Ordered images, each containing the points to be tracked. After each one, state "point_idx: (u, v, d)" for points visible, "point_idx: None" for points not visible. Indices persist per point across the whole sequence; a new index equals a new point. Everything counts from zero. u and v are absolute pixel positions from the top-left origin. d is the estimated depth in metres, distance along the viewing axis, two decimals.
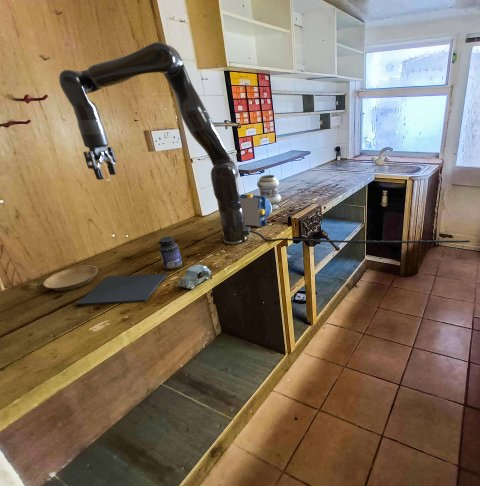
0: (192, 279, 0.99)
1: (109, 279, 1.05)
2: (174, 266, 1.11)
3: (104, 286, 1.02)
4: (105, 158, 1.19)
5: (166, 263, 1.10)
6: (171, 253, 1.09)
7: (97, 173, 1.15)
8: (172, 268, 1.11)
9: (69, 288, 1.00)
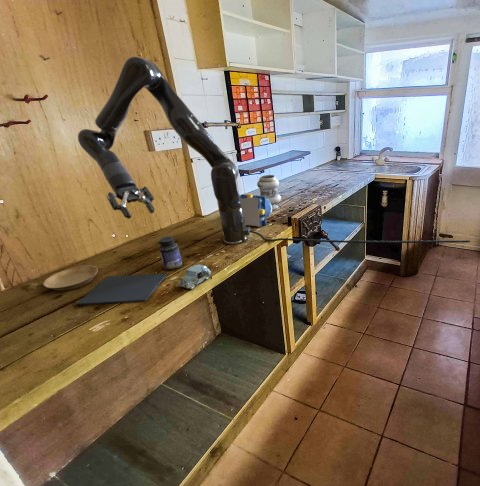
0: (192, 279, 0.99)
1: (109, 279, 1.05)
2: (174, 266, 1.11)
3: (104, 286, 1.02)
4: (134, 197, 1.15)
5: (166, 263, 1.10)
6: (171, 253, 1.09)
7: (123, 212, 1.11)
8: (172, 268, 1.11)
9: (69, 288, 1.00)
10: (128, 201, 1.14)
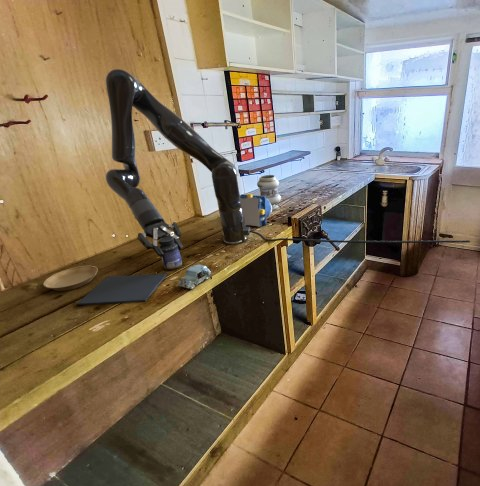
0: (192, 279, 0.99)
1: (109, 279, 1.05)
2: (174, 266, 1.11)
3: (104, 286, 1.02)
4: (162, 233, 1.11)
5: (166, 263, 1.10)
6: (171, 253, 1.09)
7: (156, 251, 1.07)
8: (172, 268, 1.11)
9: (69, 288, 1.00)
10: (157, 238, 1.10)
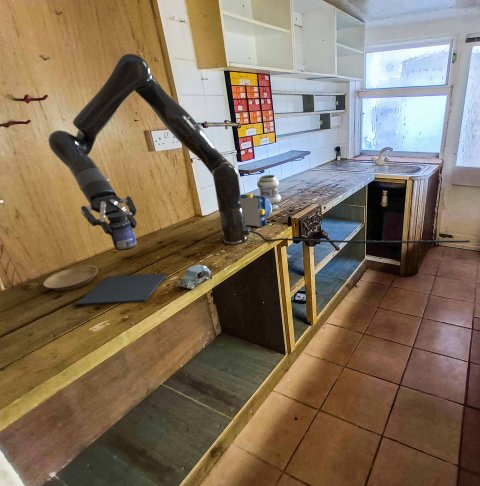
0: (192, 279, 0.99)
1: (109, 279, 1.05)
2: (126, 246, 0.96)
3: (104, 286, 1.02)
4: (112, 208, 0.96)
5: (116, 243, 0.95)
6: (122, 230, 0.94)
7: (103, 227, 0.92)
8: (123, 248, 0.96)
9: (69, 288, 1.00)
10: (106, 213, 0.95)
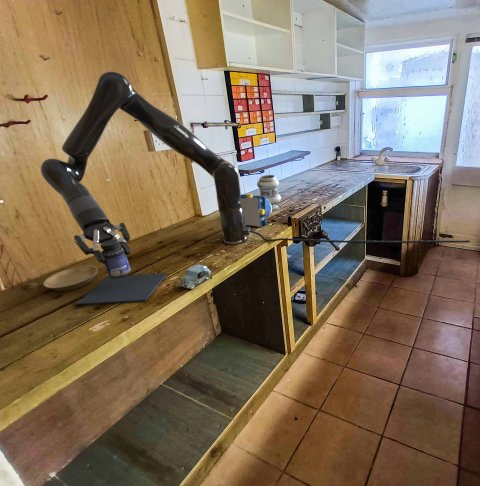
0: (192, 279, 0.99)
1: (109, 279, 1.05)
2: (119, 274, 0.96)
3: (104, 286, 1.02)
4: (105, 236, 0.95)
5: (109, 271, 0.95)
6: (115, 258, 0.94)
7: (96, 256, 0.92)
8: (117, 276, 0.96)
9: (69, 288, 1.00)
10: (99, 241, 0.95)
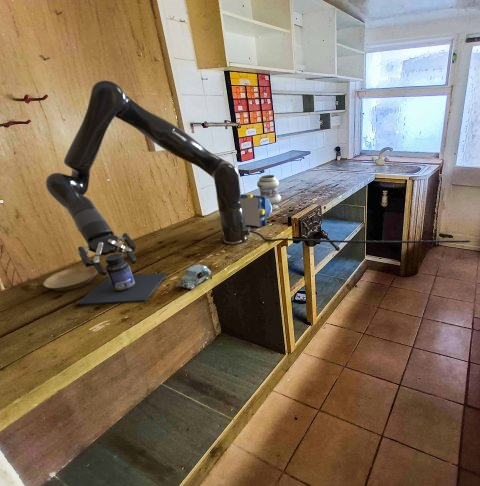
0: (192, 279, 0.99)
1: (109, 279, 1.05)
2: (124, 287, 0.98)
3: (104, 286, 1.02)
4: (111, 248, 0.97)
5: (114, 284, 0.97)
6: (120, 272, 0.96)
7: (96, 268, 0.93)
8: (122, 289, 0.98)
9: (69, 288, 1.00)
10: (104, 254, 0.96)
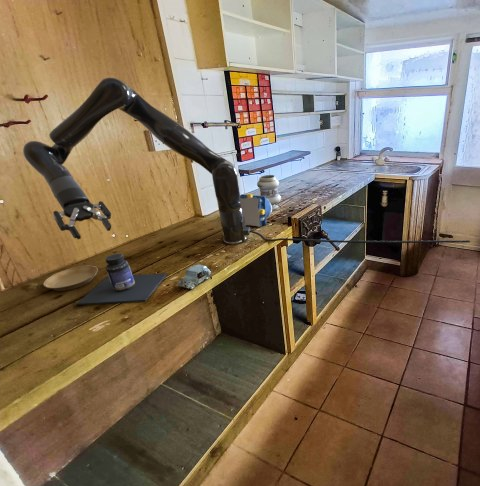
0: (192, 279, 0.99)
1: (109, 279, 1.05)
2: (124, 287, 0.98)
3: (104, 286, 1.02)
4: (86, 214, 1.01)
5: (114, 284, 0.97)
6: (120, 272, 0.96)
7: (71, 232, 0.97)
8: (122, 289, 0.98)
9: (69, 288, 1.00)
10: (79, 219, 1.00)
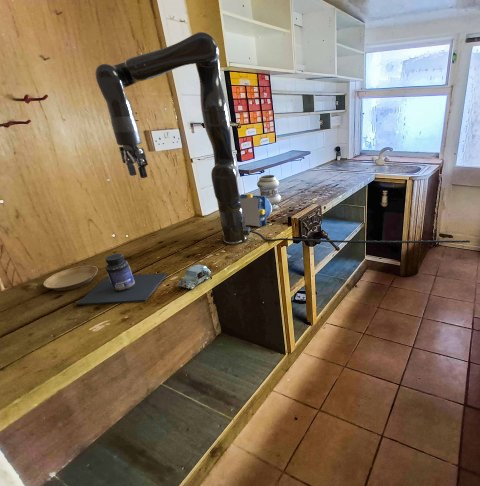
0: (192, 279, 0.99)
1: (109, 279, 1.05)
2: (124, 287, 0.98)
3: (104, 286, 1.02)
4: None
5: (114, 284, 0.97)
6: (120, 272, 0.96)
7: (144, 171, 1.12)
8: (122, 289, 0.98)
9: (69, 288, 1.00)
10: None
